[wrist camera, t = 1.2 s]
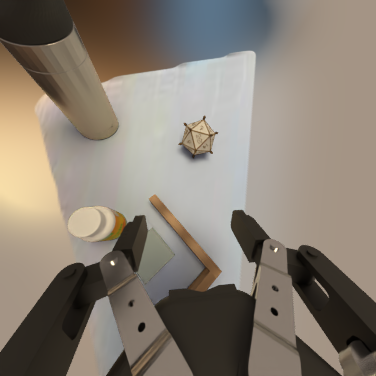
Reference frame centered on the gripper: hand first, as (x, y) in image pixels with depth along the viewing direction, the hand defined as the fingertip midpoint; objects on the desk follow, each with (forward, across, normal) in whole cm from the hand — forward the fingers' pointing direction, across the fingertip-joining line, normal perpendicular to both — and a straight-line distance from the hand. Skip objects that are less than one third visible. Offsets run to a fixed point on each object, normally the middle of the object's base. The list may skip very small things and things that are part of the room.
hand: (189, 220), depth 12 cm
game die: (+26, -4, -2) cm, 27 cm away
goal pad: (+9, +7, +15) cm, 19 cm away
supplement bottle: (+13, +14, +10) cm, 22 cm away
